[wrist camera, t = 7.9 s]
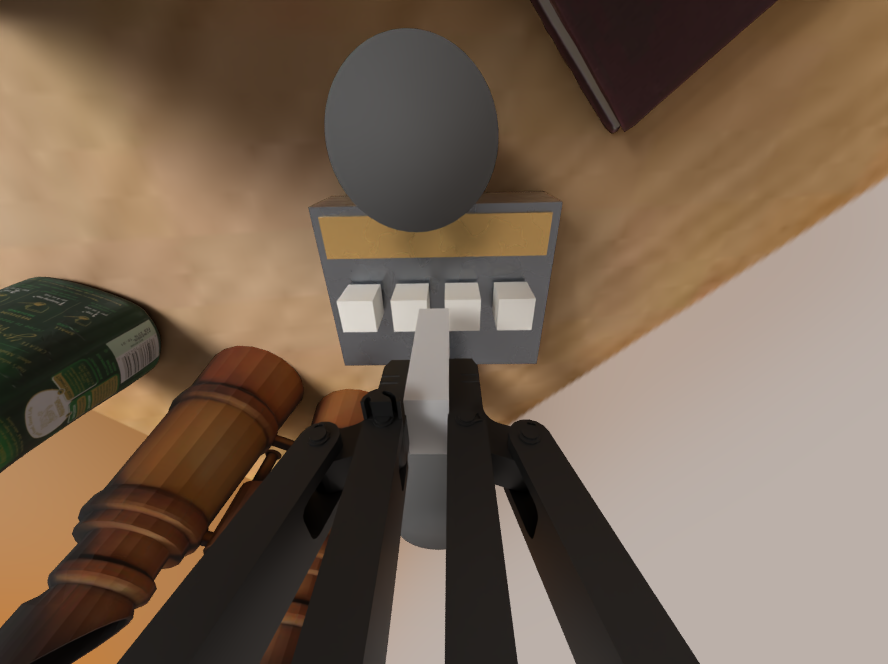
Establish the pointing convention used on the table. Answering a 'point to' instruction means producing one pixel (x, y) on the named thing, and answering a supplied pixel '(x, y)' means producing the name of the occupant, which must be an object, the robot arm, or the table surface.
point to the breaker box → (442, 270)
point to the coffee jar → (64, 357)
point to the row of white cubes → (463, 300)
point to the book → (640, 47)
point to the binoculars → (173, 508)
